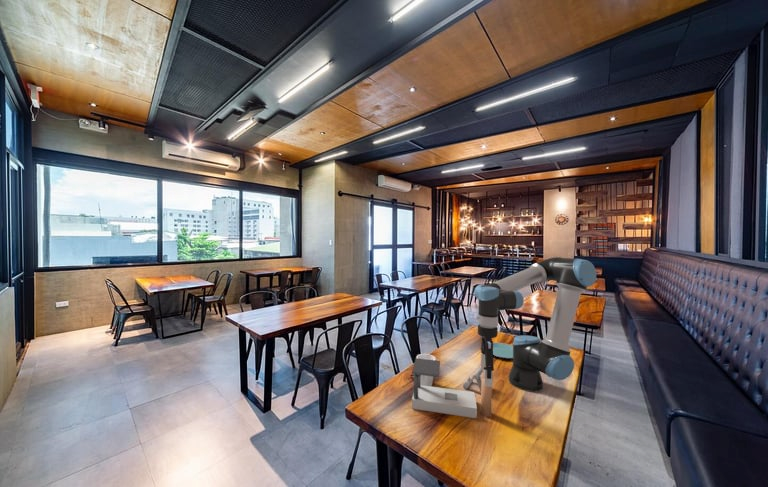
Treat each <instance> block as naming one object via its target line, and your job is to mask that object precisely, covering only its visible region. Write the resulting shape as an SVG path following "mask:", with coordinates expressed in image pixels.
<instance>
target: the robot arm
mask: <svg viewBox="0 0 768 487" xmlns="http://www.w3.org/2000/svg"><path fill="white" fill-rule="evenodd" d="M596 280H597V271H596V268H595V265H594V264H593V263H592V262H591V261H589V260H587V259H582V258H571V257H570V258H569V257H560V256H559V257H558V256H556V257H551V258H550V257H549V258H546V259H542V260H540V261H537V262H535V263H533V264H531V265H530V267H528V268H525V269H524V270H523V269H522V270H521V271H518V272H516V273H513V274H512V275H508V276H507V277H504V278H502V279H499V280H497V281H495V282H494V281H493V282H492V283H488V284H487V285H486V284H478V285H477V286H476V287H475V288H474V293H473V294H474V296H475V298H476V300H478V314H477V315H478V316H476V319H477V324H478V325H477V334H478V335H479V336H481V342H480V344H481V345H480V355H481V356H480V368H481V370H483V371H484V378H485V384H484V385H485V386H490V387H492V388H493V375H494V371H495V368H494V356H493V343H494V341H493V338H494V339H495V338H497V337H498V329H499V328H498V326H499V311H506V310H507V311H508V310H509V311H510V310H517V309H521V308H523V306H524V304H525V303H524V302H525V300H524V296H523V294H522V293H521V292H520V291H519V290H522V289H524V288H526V287H529V286H531V285H533V284H536V283H543V282H546V281H553V282H554V281H555V284H556V286H557V287H558V290H557V292H556V298H555V301H554V304H553V305H554V306H553V309H552V314H551V316H550V321H549V323H548V324H549V326H548V328H547V333H546V337H545V338H544V339H542V340H541V339H540V338H539V337H537V336H533V335H522V334H521V335H516V336H514V338H513V344H512V346H513V358H512V367H511V369H510V371H509V374H508V382H509V384H511V385H512V386H514V387H515V388H517V389H520V390H522V391H526V392H527V391H528V392H540V391H541V390H543V388H544V381H543V377H542V375H541V373H543V374H544V375H546V376H547V377H548V378H551V379H554V380H556V381H564V380H565V379H567V378H569V377H570V376H571V374H572V373H573V371H574V368H575V361H574V359H573V357H572V356H570V355H571V350H570V348H569V342H570V340H571V339H570V338H571V334H572V330H573V326H574V322H575V318H576V314H577V310H578V307H579V302H580V298H581V296H582V295H581V294H584V293H585V292H587V288H588V287H589V288H590V287H593V285H594V284H595V282H596Z"/></svg>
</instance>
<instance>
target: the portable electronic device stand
mask: <svg viewBox="0 0 768 487" xmlns="http://www.w3.org/2000/svg"><path fill="white" fill-rule="evenodd" d="M483 372H484V370H481V367H479V368H478V369H477V370H476V372H475V373H474V374H473V375H472V378H471V376H469V377H468V378H467V380H466V381H464V383H463V386H462V387H463V389H465V390H467V389H468V388H469V387H470V385H471V384H472V383H473V381H474V380H475V381H476V383H477V385H478V386H477V387H478V389H479V391H480V392H481V382H482V378H481V374H482V373H483Z"/></svg>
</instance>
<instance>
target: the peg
mask: <svg viewBox="0 0 768 487" xmlns="http://www.w3.org/2000/svg"><path fill="white" fill-rule="evenodd" d="M481 381H482V382H481V391H480V392H481V393H480V394H481V396H480V397H481V398H480V414H481V415H482V416H483V417H486V418H490V417H492V405H493V402H492V400H493V399H492V396H493V395H492V394H493V386H492V387H490V386H485V385H484V384H485V377H482V378H481Z"/></svg>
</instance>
